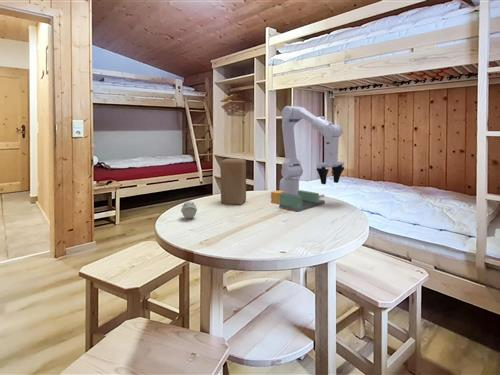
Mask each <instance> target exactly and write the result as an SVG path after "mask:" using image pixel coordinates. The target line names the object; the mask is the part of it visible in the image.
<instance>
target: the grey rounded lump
mask: <svg viewBox="0 0 500 375" xmlns="http://www.w3.org/2000/svg"><path fill="white" fill-rule="evenodd" d="M197 211H198V208H197V206H196V204H195V202H193V201H191V200H189V201H188V200H187V201H185V202H184V203H183V204H182V206H181V209H180V213H181V214H182V215H183V217H184V218H185V219H190V218H191V219H193V218H194V217H195V215H196V214H197Z"/></svg>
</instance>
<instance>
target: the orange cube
mask: <svg viewBox="0 0 500 375" xmlns="http://www.w3.org/2000/svg"><path fill="white" fill-rule="evenodd" d="M282 193H285V192H284V191H280V190H275V191H274V190H273V191H271V192H270V203H272V204H276V205H277V204H279V200H280V194H282Z"/></svg>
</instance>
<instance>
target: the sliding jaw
mask: <svg viewBox="0 0 500 375" xmlns="http://www.w3.org/2000/svg"><path fill="white" fill-rule="evenodd" d="M298 196H302V200H305V201H310V202H315V203H317V202H319V199H321V198H324V197H325V194H323V193H322V194H320V193H319V192H314V191H307V190H302V189H299V191H298Z"/></svg>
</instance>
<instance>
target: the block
mask: <svg viewBox="0 0 500 375" xmlns="http://www.w3.org/2000/svg"><path fill="white" fill-rule="evenodd" d="M219 164H220V166H219V167H220V168H219V172H220V173H219V174H220V202H221V204H222V205H231V204H234V206H237V205H238V206H240V205H241V206H242V205H243V203H245V202H246V200H247V160H246V159H245V158H225V159H222V160H220V163H219Z"/></svg>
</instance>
